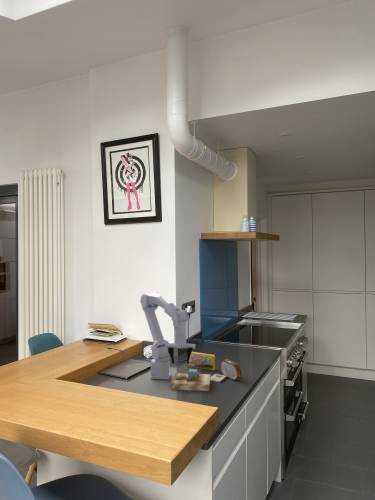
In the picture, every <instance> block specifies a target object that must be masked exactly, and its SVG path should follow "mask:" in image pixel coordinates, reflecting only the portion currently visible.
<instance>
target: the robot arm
mask: <svg viewBox="0 0 375 500" xmlns="http://www.w3.org/2000/svg"><path fill="white" fill-rule="evenodd" d="M139 300H140V301H139V302H140V304H141V309H142V310H143V313H144V315H145V318H146V321H147V324H148V325H147V326H148V328H149V331H150V334H151V337H152V340H153V344H152V345H151V347H150V349H151V356H152V358H153V359H152V358H151V362H150V379H151V380H152V379H153V380H169V379H170V378H171V375H172V373H171V372H170V360H171V364H173V365H174V364H175V349H186V355H187V356H186V357H187V358H186V364H187V365H188V364H189V359H190V355H191V352H193V350H195V349H196V343H187V321H188V320H189V314H188V312H187V310H186V309H180V307H178V306H176V305H175V303H173V302H170V303H168V301H166V300H165V298H163V297H162V293H159V292H153V293H152V292H151V293H142V295H141V296H140V299H139ZM159 307H161V308H162V309H163V311H164V313H165V314H166V315H167V316H169V317H170V319H171V321H172V325H173V330H174V331H173V333H174V334H173V335H174V336H173V339H174V343H170V342H169V341H168V340H166V339H164V336H163V332H162V329H161V326H160V324H159V321H158V318H157V314H156V310H157V309H158V308H159Z"/></svg>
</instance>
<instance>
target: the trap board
mask: <svg viewBox="0 0 375 500" xmlns="http://www.w3.org/2000/svg"><path fill="white" fill-rule="evenodd" d="M211 375H212V374H210V373H208V374H207V373H199V372H197V378H189V377H188V373H179V372H178V373H176V372H175V373H174V375H173V378H171V379H172V380H171V382H170V390H173V391H198V392H199V391H200V392H201V391H203V392H205V391H206V392H210V387H211V382H212V381H211Z"/></svg>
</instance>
